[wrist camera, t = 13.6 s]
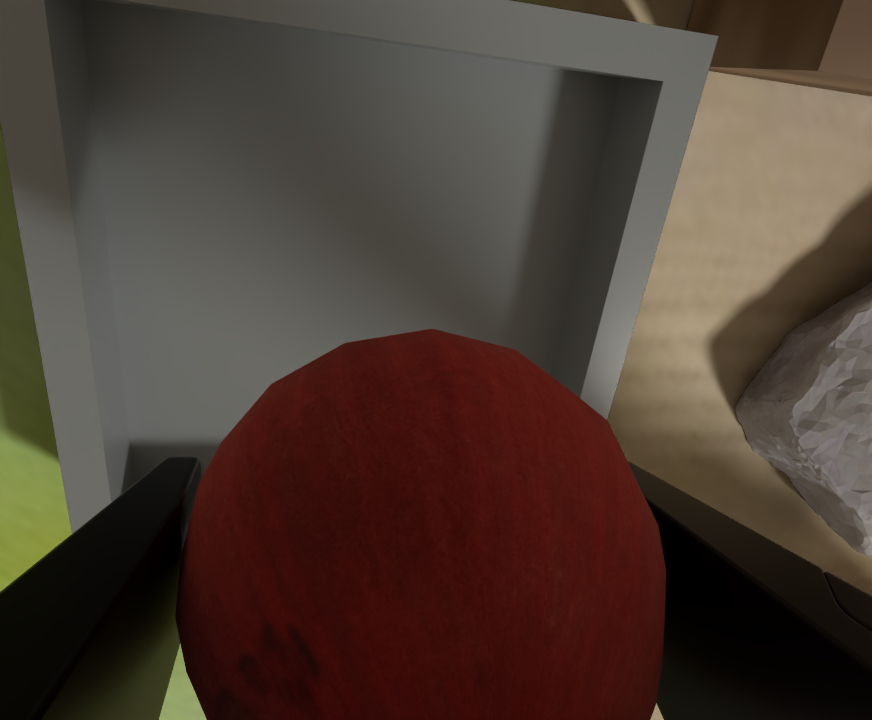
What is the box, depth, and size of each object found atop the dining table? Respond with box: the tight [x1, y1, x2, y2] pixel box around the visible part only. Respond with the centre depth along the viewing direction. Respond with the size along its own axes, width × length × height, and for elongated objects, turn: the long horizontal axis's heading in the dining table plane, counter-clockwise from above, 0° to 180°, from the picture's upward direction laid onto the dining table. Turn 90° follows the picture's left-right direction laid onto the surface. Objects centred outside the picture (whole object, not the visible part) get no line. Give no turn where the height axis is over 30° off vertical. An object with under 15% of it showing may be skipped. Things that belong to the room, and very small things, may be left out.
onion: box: [175, 329, 666, 720], centre depth 8 cm, size 6×6×8 cm
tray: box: [0, 0, 718, 534], centre depth 16 cm, size 14×14×3 cm
